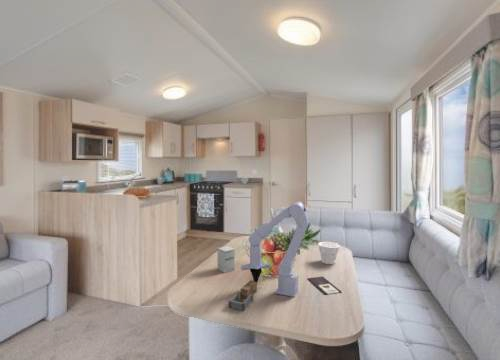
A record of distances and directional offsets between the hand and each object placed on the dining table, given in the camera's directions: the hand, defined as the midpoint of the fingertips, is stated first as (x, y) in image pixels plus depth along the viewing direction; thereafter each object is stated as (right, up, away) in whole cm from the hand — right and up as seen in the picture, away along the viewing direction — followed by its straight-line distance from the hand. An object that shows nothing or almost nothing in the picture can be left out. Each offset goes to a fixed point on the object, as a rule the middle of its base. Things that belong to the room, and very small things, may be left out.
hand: (255, 282), depth 143 cm
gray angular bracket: (-7, -4, -16) cm, 18 cm away
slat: (-3, -3, -8) cm, 9 cm away
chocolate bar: (+35, -3, +3) cm, 35 cm away
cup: (+46, 0, +36) cm, 58 cm away
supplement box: (-17, -1, +23) cm, 28 cm away
